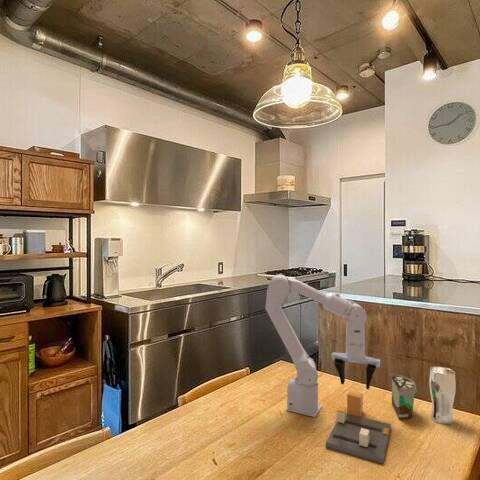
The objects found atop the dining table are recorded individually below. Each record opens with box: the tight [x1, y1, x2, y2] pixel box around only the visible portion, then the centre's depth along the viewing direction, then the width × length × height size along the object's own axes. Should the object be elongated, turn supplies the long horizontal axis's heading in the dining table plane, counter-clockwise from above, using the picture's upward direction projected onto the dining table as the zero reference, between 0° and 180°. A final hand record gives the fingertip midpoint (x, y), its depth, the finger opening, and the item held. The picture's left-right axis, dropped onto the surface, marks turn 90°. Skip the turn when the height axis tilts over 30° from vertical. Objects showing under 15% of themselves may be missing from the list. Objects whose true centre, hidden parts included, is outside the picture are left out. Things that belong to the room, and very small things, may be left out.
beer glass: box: [428, 366, 457, 426], centre depth 108 cm, size 7×7×15 cm
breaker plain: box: [359, 428, 369, 447], centre depth 92 cm, size 2×3×3 cm, turn 151°
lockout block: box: [346, 389, 364, 417], centre depth 112 cm, size 4×4×6 cm
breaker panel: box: [325, 413, 392, 465], centre depth 98 cm, size 14×18×2 cm
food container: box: [390, 373, 418, 421], centre depth 112 cm, size 12×6×10 cm, turn 168°
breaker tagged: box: [336, 405, 347, 423], centre depth 104 cm, size 2×3×3 cm, turn 151°
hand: (355, 385), depth 112 cm, fingers open, 7 cm apart
